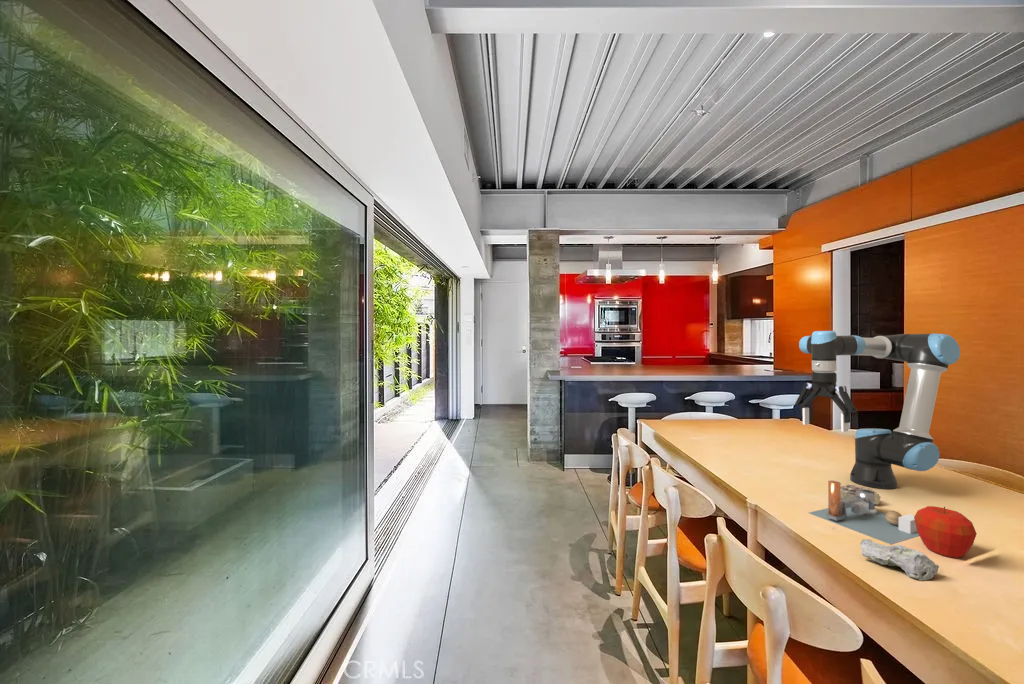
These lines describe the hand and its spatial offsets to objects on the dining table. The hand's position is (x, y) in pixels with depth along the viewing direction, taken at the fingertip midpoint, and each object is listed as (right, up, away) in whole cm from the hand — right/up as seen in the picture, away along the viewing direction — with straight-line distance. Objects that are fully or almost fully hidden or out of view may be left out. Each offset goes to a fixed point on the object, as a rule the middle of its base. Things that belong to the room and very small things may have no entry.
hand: (824, 427), depth 158 cm
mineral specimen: (-14, -29, -46) cm, 56 cm away
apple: (+5, -29, -39) cm, 49 cm away
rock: (+11, -28, -1) cm, 31 cm away
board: (+1, -28, -19) cm, 34 cm away
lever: (-2, -26, -15) cm, 31 cm away
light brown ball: (+6, -27, -22) cm, 35 cm away
